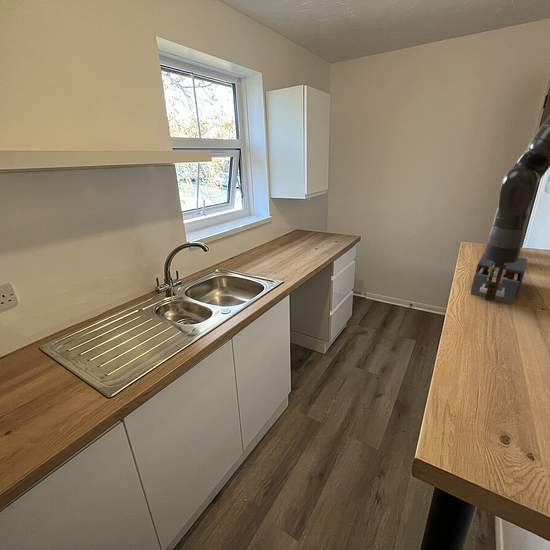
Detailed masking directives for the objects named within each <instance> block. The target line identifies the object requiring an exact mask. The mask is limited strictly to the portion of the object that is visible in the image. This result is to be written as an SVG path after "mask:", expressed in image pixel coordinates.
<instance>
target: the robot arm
mask: <svg viewBox="0 0 550 550" xmlns="http://www.w3.org/2000/svg"><path fill="white" fill-rule="evenodd" d="M549 168H550V114H549V115H548V117H547V118H546V119H545V120H544V122H543V123H542V125H541V126H540V127H539V129H538V130H537V132H536V133H535V134H534V136H533V137H532V139H531V140H530V142H529V143H528V145H527V147H526V149H525V150H524V152H523V153H522V154H521V156H520V157H519V158H518V160H517V161H516V162H515V163H514V164H513V166H512V167H511V169H510V170H508V171H507V172H505V174H504V175H503V178H502V180H501V184H500V189H499V196H498V203H497V208H496V211H495V214H494V218H493V223H492V226H491V229H490V231H489V234H488V239H487V243H486V247H485V251H484V253H485V255H484V256H485V258H486V259H488V260H491V261H493V262H494V263H491V264H490V266H489V269H488V272H489V274H488V278H487V281H488V285H487V288H488V289H487V293H486V297H485V298H484V299H485V300H487V301H491V302H493V301H495V300H494V299H495V296H496V292H497V289H498V288H499V284H500V283H502V279H503V276H504V274H505V272H506V269H507V265H504V263H514V262H516V261H517V260H518V257H519V256H520V253H521V249H522V245H523V242H524V238H525V231H526V227H527V224H528V220H529V216H530V208H531V204H532V201H533V199H534V195H535V192H536V189H537V186H538V184H539V182H540V181H541V179H542V178H543V177H544V175H545V174H546V173H547V172H548V170H549Z"/></svg>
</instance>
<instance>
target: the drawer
mask: <svg viewBox="0 0 550 550" xmlns="http://www.w3.org/2000/svg"><path fill="white" fill-rule="evenodd" d="M488 269H489V268H485V267H482V268H481V269H480V271H479V273H478V274H477V273H476V272H475V273H474V275H473V281H472V285H471V288H470V293H469V295H470V296H476V297H479V298H483V299H485V297H486V293H487V289H488V288H487V285H488V281H487V278H488V274H489V272H488ZM518 274H519V273H515V272H509V271H506V272H505V274H504V276H503V277H504V278H508V279H504V278H503V279H502V283H500V284H499V288H498V289H497V292H496V296H495V299H494V301H498V302H503V303H505V304H506V303H507V304H511V305H514V302H515V299H516V297H515V296H516V292H517V289H518V286H519V282H520V281H517V278H518Z"/></svg>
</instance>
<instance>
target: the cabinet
mask: <svg viewBox="0 0 550 550" xmlns="http://www.w3.org/2000/svg"><path fill="white" fill-rule="evenodd" d="M484 255H485V252H484V253H483V254H482V256H481V257H480V259H479V261H478V262H477V265H476V269H475V273H477V274H478V273H479V271H480V269H481V268H482V267H485V268H489V266H490V264H491V263H494V262H493V261H491V260H488V259H486V258H485V256H484ZM527 262H528V258H525V257H524V258H523V257H519V256H518V260H517V261H516V262H514V263H504V265H507V269H506V271H509V272H515V273H519V274H518V278H517V281H520V282H519V286H518V289H517V292H516V296H515V298H518V295H519V292H520V289H521V285H522V281H523V279H524V276H525V271H526V268H527V267H526V266H527Z"/></svg>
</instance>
